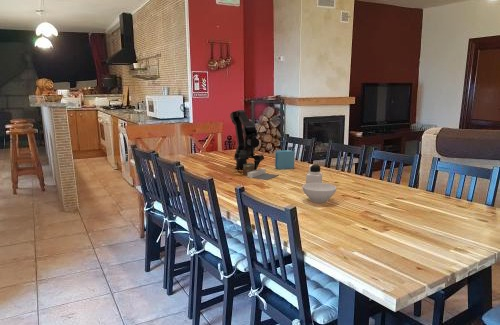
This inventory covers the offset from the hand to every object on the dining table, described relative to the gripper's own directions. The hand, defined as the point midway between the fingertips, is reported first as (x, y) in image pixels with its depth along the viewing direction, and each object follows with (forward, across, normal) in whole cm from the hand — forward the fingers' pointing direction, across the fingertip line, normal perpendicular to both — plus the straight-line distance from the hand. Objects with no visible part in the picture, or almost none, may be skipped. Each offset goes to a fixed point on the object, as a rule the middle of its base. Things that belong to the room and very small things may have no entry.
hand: (249, 169), depth 241 cm
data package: (+2, +12, +25) cm, 28 cm away
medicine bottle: (+2, +48, -9) cm, 49 cm away
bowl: (+2, +61, -33) cm, 69 cm away
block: (+2, 0, 0) cm, 2 cm away
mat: (+2, +14, -3) cm, 15 cm away
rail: (+2, +8, -3) cm, 8 cm away
